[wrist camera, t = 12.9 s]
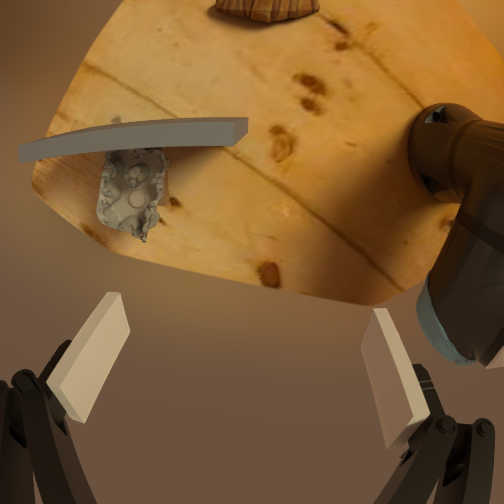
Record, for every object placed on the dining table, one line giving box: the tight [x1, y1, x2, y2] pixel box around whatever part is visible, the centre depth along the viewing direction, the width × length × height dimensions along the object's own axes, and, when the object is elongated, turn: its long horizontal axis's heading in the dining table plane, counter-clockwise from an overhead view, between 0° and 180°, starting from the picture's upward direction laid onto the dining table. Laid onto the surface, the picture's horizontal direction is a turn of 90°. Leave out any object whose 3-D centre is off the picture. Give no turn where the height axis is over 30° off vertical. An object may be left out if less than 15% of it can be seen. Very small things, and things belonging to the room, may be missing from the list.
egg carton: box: [96, 147, 171, 243], centre depth 31 cm, size 11×8×4 cm
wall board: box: [18, 117, 248, 206], centre depth 32 cm, size 24×10×16 cm, turn 88°
